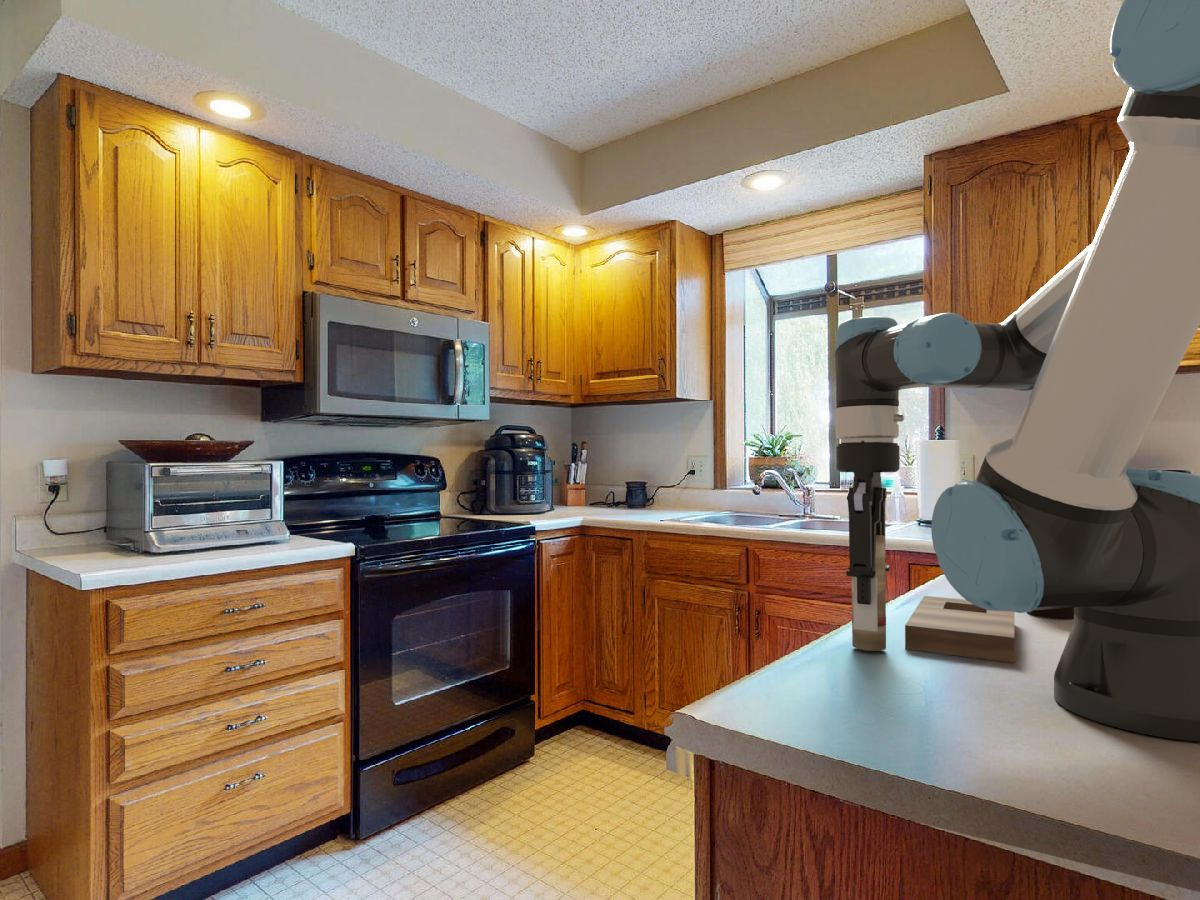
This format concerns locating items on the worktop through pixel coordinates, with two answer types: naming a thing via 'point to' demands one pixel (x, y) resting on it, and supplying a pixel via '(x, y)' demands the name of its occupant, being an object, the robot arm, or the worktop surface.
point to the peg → (872, 638)
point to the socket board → (960, 629)
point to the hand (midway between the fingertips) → (868, 625)
